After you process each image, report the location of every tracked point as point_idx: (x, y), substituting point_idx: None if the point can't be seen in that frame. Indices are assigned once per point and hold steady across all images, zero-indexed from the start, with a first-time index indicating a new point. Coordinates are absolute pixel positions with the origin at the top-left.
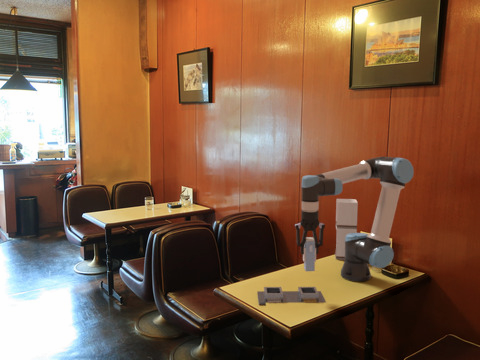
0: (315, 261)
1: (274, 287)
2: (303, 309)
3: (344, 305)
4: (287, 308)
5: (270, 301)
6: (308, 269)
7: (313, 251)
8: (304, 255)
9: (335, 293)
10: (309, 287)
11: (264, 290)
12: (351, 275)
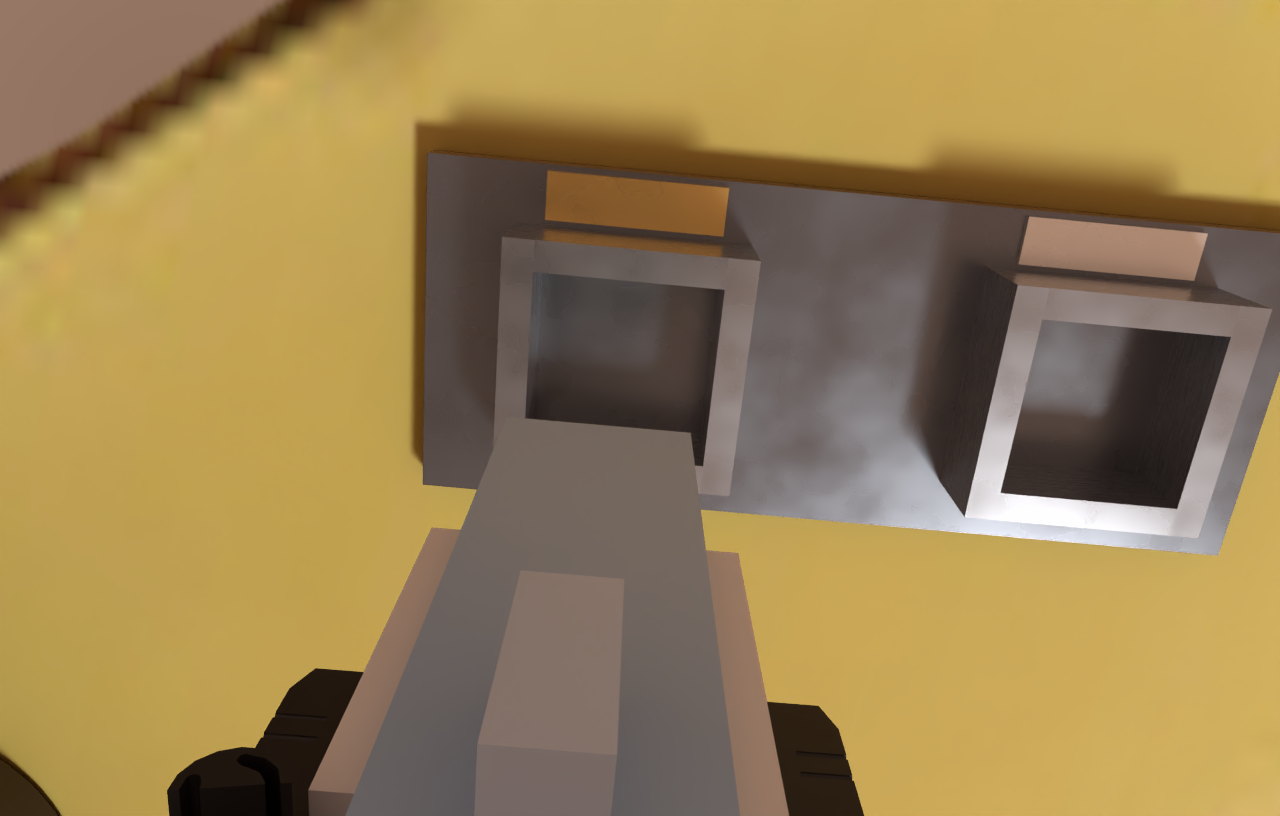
0: (443, 530)
1: (1060, 510)
2: (772, 33)
3: (201, 95)
4: (973, 86)
5: (1166, 243)
6: (633, 440)
7: (453, 668)
8: (739, 650)
9: (244, 447)
10: None
11: (1220, 448)
12: None
